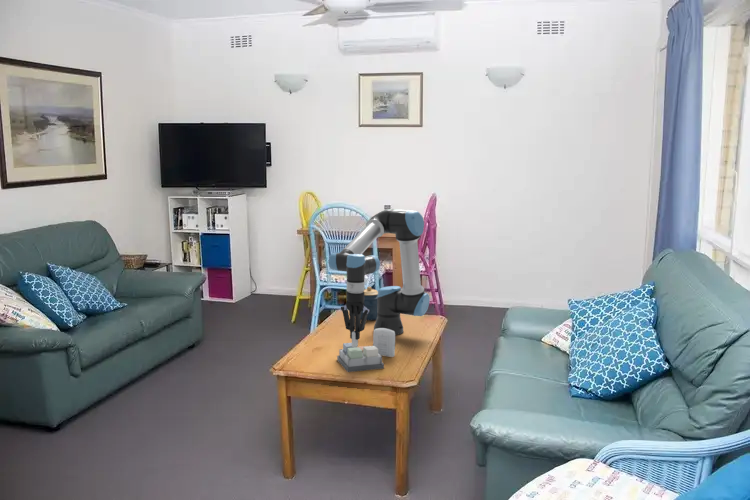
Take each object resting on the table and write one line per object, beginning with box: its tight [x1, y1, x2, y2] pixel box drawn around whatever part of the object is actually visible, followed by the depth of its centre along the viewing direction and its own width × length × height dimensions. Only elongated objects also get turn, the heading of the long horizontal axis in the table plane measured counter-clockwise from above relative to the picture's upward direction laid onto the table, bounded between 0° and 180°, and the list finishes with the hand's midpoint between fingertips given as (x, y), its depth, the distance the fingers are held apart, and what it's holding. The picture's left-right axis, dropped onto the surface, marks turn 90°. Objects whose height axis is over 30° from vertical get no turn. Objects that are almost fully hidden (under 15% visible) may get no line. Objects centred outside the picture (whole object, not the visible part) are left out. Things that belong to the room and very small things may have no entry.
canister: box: [360, 286, 378, 321], centre depth 343 cm, size 13×13×18 cm
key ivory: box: [363, 345, 378, 357], centre depth 264 cm, size 5×5×4 cm
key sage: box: [348, 346, 362, 359], centre depth 261 cm, size 5×5×4 cm
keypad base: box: [336, 348, 385, 373], centre depth 266 cm, size 16×16×5 cm
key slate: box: [342, 342, 354, 354], centre depth 268 cm, size 5×5×4 cm
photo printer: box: [372, 328, 396, 358], centre depth 279 cm, size 10×4×12 cm, turn 69°
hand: (354, 346), depth 261 cm, fingers closed
